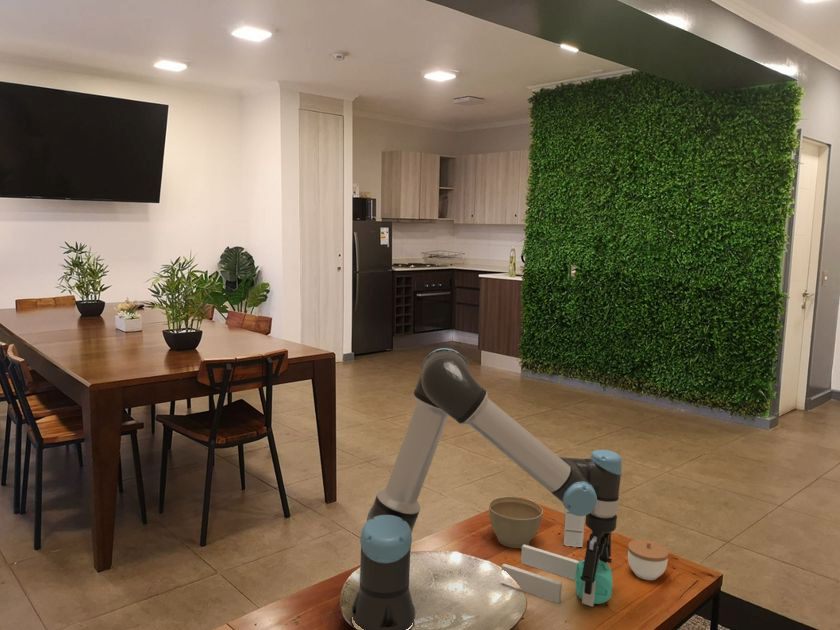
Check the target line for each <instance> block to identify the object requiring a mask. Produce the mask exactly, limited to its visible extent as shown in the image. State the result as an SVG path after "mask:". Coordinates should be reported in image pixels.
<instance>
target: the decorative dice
mask: <svg viewBox="0 0 840 630" xmlns="http://www.w3.org/2000/svg"><path fill="white" fill-rule="evenodd" d="M584 561H585V558H584V559H581V560H580V561H579V563H578V564H577V566H576V576H575V580H574V581H575V582H574V583H575V584H574V585H575V593H576V595H577V597H579V599H581V600H582V597H583V586H584V581H583V580H581V576H582V573H583V567H584ZM595 581H596V584H595V595H594V605H595V604H596V605H600V604H605V603H606V602H607V601H609V600H610V599H611V597H612V596H613V595H612V593H613V574H612V568H611V567H610V565H609V563H608V564H606V563H605V562H603V561H600V560H599V562H598V566H597V571H596V575H595Z"/></svg>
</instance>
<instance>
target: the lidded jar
mask: <svg viewBox="0 0 840 630" xmlns="http://www.w3.org/2000/svg"><path fill="white" fill-rule="evenodd" d="M669 556H670V551H669V549H668V548H667V547H666V546H664V545H662V544H661V543H660V542H659V543H658V542H656V541H652V540H649V539H634V540H631V541H629V543H627V562H628V564H629V567H630V569H631V570H632V572H633V573H634V575H635V576H636V577H638V578H639V579H642V580H644V581H656V580H657V579H658V578H659V577H661V576H662V575H663V574H664V573H665V571H666V569H667V565H668V562H669Z"/></svg>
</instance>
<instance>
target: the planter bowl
mask: <svg viewBox="0 0 840 630" xmlns="http://www.w3.org/2000/svg"><path fill="white" fill-rule="evenodd" d="M488 509H489V510H488V511H489V512H488V514H489V515H488V516H489V521H490V525H491V528H492V529H493V532H494V534H495V535H496V538H497V540H498V541H497V542H499V544H501V545H502V546H504V547H508V548H511V549H512V548H513V549H522V546H523V545H524V544H525V545H528V546H529V544H530V541H531V540H532V539H533V538H534V537H535V536H536V534H537V533H538V530H539V529H540V525H541V524H542V516H543V514H544V510H543V507H542V506H540V504H539V503H536V501H533V500H531V499H529V498H528V499H527V498H525V497H524V498H523V497H519V496H500V497H496V498H494V499H491V501H490V502H489V503H488Z"/></svg>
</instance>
